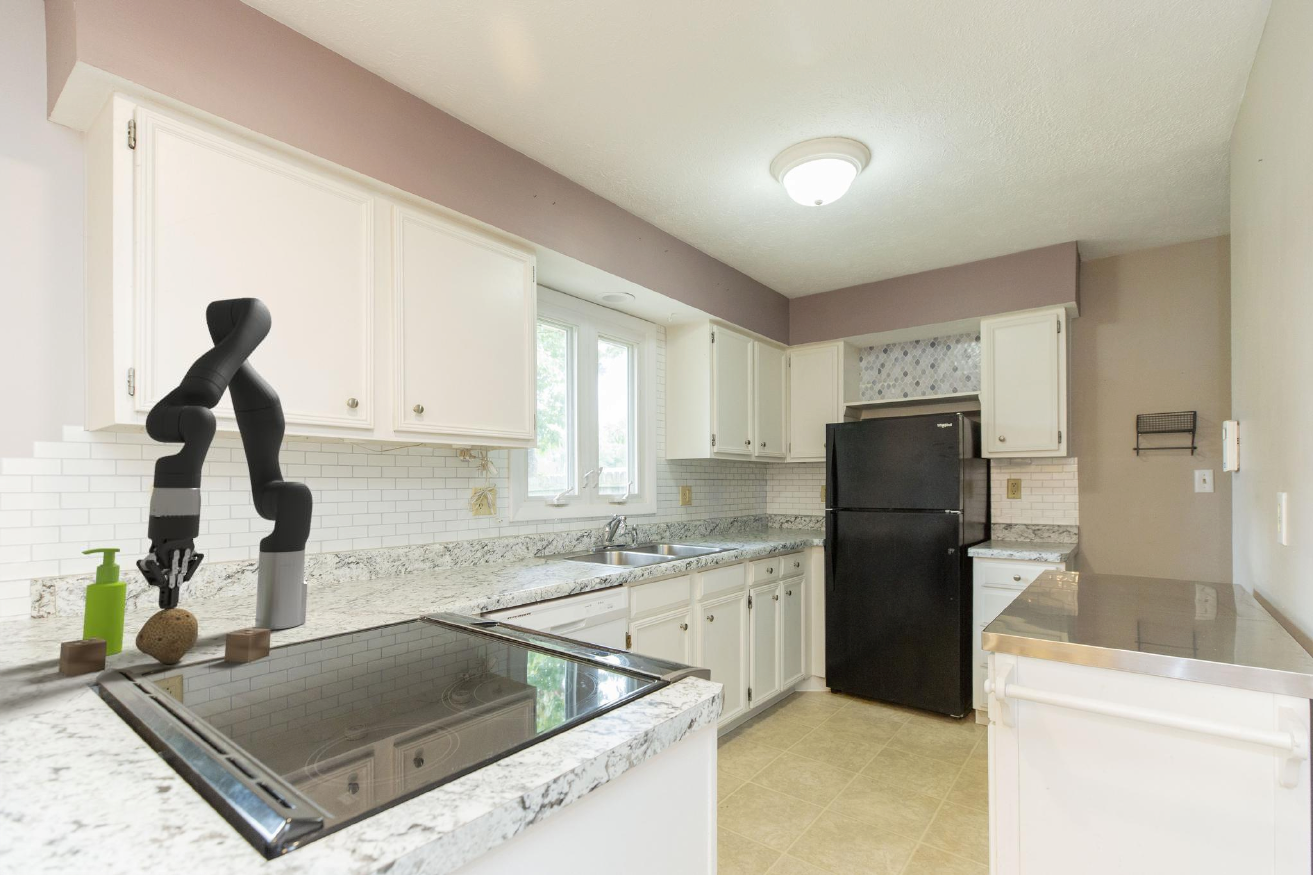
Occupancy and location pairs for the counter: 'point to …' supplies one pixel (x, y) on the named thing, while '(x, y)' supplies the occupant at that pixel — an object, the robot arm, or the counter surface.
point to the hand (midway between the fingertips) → (168, 608)
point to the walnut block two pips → (247, 645)
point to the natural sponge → (168, 635)
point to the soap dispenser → (106, 603)
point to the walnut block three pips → (82, 656)
